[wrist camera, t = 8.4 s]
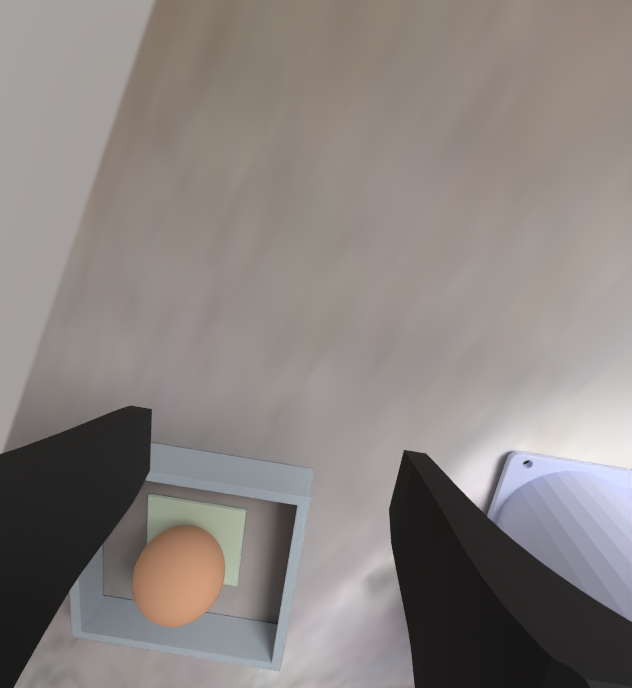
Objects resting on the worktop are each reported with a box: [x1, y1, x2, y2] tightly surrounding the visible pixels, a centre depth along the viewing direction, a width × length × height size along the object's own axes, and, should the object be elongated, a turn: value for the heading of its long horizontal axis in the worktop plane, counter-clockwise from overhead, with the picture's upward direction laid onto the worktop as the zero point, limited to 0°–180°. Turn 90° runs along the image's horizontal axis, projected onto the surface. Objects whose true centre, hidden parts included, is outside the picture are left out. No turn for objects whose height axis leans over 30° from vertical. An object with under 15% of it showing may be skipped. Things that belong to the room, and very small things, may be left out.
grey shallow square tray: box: [70, 443, 314, 671], centre depth 25 cm, size 13×13×2 cm
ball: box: [132, 526, 225, 627], centre depth 23 cm, size 5×5×5 cm
